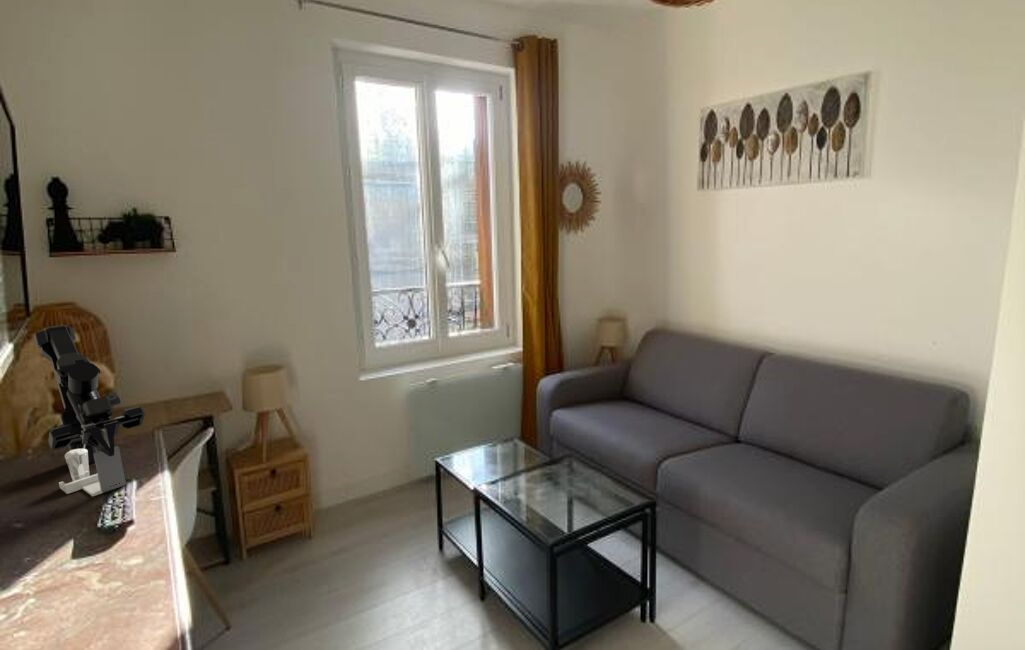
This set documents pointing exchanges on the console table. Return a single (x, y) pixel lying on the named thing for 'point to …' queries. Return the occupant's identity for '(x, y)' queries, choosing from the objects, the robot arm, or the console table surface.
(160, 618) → the console table surface
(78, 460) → the milkshake
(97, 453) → the white bracket
